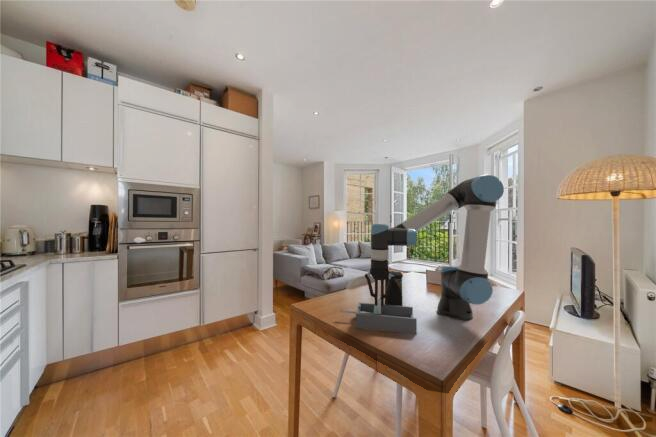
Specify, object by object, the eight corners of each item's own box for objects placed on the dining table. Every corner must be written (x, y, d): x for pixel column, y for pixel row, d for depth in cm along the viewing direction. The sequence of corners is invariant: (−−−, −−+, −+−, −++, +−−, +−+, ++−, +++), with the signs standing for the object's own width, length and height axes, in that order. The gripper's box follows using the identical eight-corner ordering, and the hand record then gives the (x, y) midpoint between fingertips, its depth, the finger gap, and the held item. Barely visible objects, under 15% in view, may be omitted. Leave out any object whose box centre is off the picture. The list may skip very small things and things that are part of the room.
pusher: (377, 315, 110) (377, 304, 110) (377, 325, 99) (377, 313, 99) (342, 311, 113) (342, 301, 113) (338, 321, 102) (338, 309, 102)
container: (403, 317, 111) (403, 274, 111) (384, 315, 113) (384, 273, 113) (401, 310, 119) (402, 270, 120) (383, 308, 121) (383, 269, 122)
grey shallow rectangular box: (412, 320, 108) (412, 306, 108) (416, 334, 94) (416, 319, 94) (359, 315, 113) (359, 302, 113) (355, 328, 99) (355, 313, 99)
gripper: (394, 258, 106) (394, 311, 106) (365, 257, 109) (364, 308, 109) (395, 261, 99) (395, 317, 99) (363, 259, 102) (363, 314, 102)
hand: (379, 312), depth 104 cm, fingers closed
